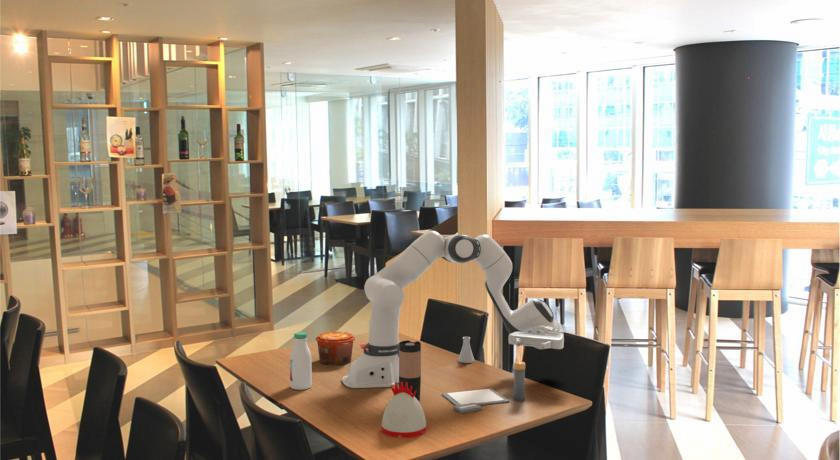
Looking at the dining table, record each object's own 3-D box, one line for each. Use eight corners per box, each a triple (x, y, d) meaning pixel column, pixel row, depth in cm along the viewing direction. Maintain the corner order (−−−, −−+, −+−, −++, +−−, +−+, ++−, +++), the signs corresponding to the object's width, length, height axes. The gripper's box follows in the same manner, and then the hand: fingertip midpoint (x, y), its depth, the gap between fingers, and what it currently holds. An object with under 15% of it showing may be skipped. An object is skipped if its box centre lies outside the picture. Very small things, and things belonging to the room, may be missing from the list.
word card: (461, 413, 251) (461, 410, 251) (453, 409, 255) (453, 405, 255) (481, 409, 255) (481, 406, 255) (473, 405, 259) (473, 402, 259)
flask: (473, 364, 311) (474, 340, 310) (456, 363, 313) (456, 339, 312) (476, 359, 318) (476, 336, 317) (458, 358, 320) (459, 335, 319)
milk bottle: (315, 385, 281) (315, 332, 279) (304, 391, 274) (303, 336, 272) (298, 382, 284) (297, 329, 282) (286, 388, 277) (285, 334, 275)
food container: (334, 354, 326) (333, 329, 325) (362, 360, 316) (362, 334, 315) (307, 362, 313) (307, 336, 312) (336, 368, 303) (336, 342, 302)
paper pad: (457, 407, 257) (457, 405, 257) (441, 394, 271) (441, 392, 271) (509, 402, 263) (509, 400, 263) (490, 389, 277) (490, 387, 277)
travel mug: (404, 404, 260) (404, 346, 258) (394, 398, 267) (395, 341, 265) (424, 401, 264) (425, 344, 262) (414, 394, 270) (414, 339, 268)
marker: (516, 401, 263) (517, 364, 262) (511, 398, 267) (512, 362, 266) (526, 400, 265) (527, 363, 263) (521, 397, 268) (522, 361, 267)
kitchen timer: (390, 420, 245) (390, 374, 243) (431, 424, 241) (431, 378, 240) (375, 435, 232) (375, 386, 230) (418, 440, 228) (418, 390, 226)
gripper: (514, 326, 292) (502, 333, 279) (567, 330, 283) (558, 339, 271) (514, 342, 293) (502, 350, 280) (567, 347, 284) (557, 356, 272)
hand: (530, 345), depth 275 cm, fingers open, 8 cm apart
